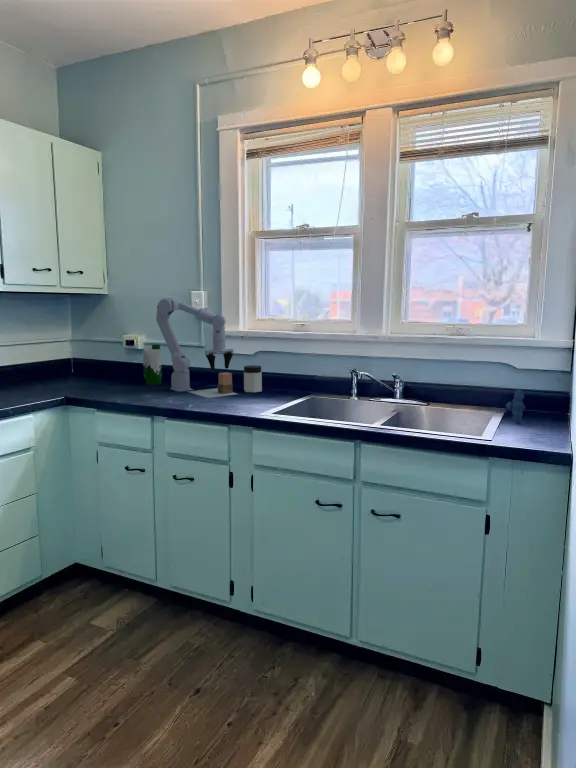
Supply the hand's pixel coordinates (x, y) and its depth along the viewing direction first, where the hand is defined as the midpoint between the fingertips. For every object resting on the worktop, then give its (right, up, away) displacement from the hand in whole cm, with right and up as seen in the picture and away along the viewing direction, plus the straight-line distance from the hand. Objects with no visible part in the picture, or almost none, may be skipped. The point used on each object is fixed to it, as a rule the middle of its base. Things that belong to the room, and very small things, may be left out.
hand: (219, 369), depth 256 cm
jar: (+16, -11, -1) cm, 19 cm away
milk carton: (-37, -7, +22) cm, 44 cm away
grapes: (+113, -21, -64) cm, 132 cm away
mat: (-3, -12, -6) cm, 13 cm away
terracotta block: (+3, -7, -7) cm, 10 cm away
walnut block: (+3, -11, -6) cm, 13 cm away
